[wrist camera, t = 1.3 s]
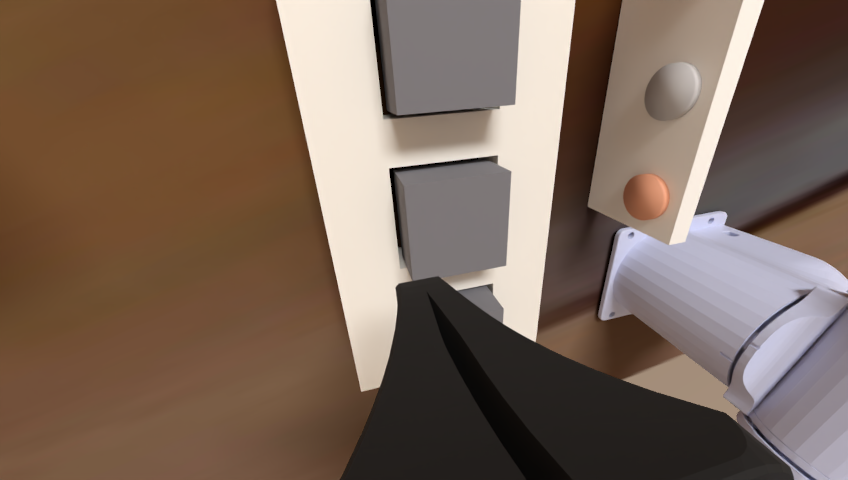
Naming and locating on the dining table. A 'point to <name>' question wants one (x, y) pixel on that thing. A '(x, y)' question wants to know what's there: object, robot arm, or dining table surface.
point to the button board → (421, 161)
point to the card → (667, 109)
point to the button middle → (453, 217)
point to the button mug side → (448, 53)
